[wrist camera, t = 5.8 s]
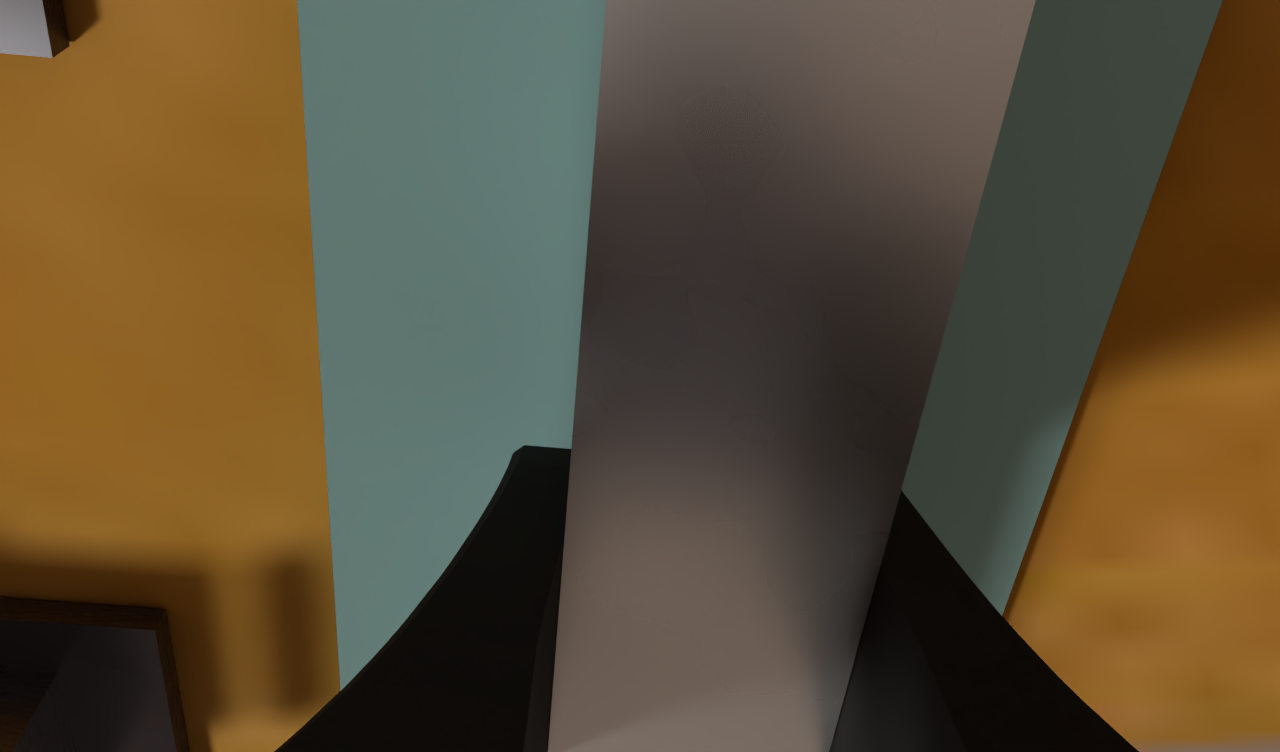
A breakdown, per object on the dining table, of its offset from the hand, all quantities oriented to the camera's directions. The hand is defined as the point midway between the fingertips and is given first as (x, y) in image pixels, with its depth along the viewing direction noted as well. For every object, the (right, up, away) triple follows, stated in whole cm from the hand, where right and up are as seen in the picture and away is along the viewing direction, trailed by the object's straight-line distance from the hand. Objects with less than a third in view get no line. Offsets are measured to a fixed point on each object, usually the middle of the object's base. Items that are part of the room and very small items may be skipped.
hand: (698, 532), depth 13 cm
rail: (0, +1, +1) cm, 2 cm away
